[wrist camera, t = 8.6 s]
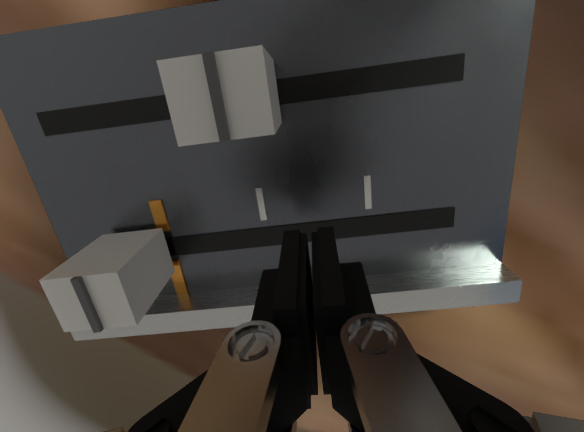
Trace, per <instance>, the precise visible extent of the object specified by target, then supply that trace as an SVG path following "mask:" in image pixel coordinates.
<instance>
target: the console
mask: <svg viewBox="0 0 584 432" xmlns="http://www.w3.org/2000/svg"><path fill="white" fill-rule="evenodd" d="M535 1H536V0H219V1H213V2H207V3H200V4H194V5H188V6H181V7H175V8H169V9H162V10H156V11H150V12H143V13H137V14H131V15H124V16H118V17H112V18H106V19H99V20H93V21H87V22H80V23H74V24H68V25H61V26H55V27H49V28H42V29H36V30H30V31H23V32H17V33H11V34H4V35H0V107H1V109H2V111H3V114H4V116H5V118H6V121H7V123H8V125H9V127H10V130H11V132H12V134H13V137H14V139H15V141H16V144H17V146H18V148H19V150H20V153H21V155H22V157H23V160H24V162H25V164H26V166H27V169H28V171H29V173H30V176H31V178H32V180H33V182H34V185H35V187H36V189H37V192H38V194H39V196H40V198H41V201H42V203H43V205H44V208H45V210H46V212H47V214H48V217H49V219H50V221H51V224H52V226H53V228H54V230H55V233H56V235H57V237H58V240H59V242H60V244H61V246H62V249H63V251H64V253H65V256H66V258H67V260H68V259H69V258H71V257H72V256H73V255H75V254H76V253H78V252H79V251H80V250H82V249H83V248H85V247H86V246H87V245H89V244H90V243H92V242H93V241H94V240H96V239H97V238H99V237H100V236H101V235H104V234H113V233H122V232H131V231H140V230H149V229H158V228H162V230H163V233H164V236H165V240H166V243H167V246H168V250H169V253H170V256H171V259H172V263H173V266H174V269H175V272H174V273H173V275H172V276H171V278H170V279H169V281H168V282H167V283H166V285H165V286H164V288H163V289H162V291H161V292H160V293H159V295H158V296H157V298H156V299H155V301H154V302H153V304H152V305H151V306H150V308H149V309H148V311H147V312H146V314H145V315H144V316H143V318H142V319H141V321H140V322H139V324H138V325H137V326H128V327H117V328H106V329H103V330H102V332H98V333H93V331H92V330H83V331H72V332H71V334H72V336H73V338H74V340H75V341H81V340H93V339H104V338H116V337H127V336H138V335H150V334H161V333H173V332H184V331H195V330H207V329H218V328H230V327H237V326H239V325H241V324H242V323H246V322H249V321H251V319H252V315H253V310H254V306H255V301H256V297H257V292H258V288H259V284H260V279H261V275H262V271H263V270H265V269H277V268H278V267H279V260H280V254H281V247H282V240H283V233H284V231H287V230H297V229H300V232H301V233H307V240H308V249H309V257H310V266H311V274H312V238H311V232H318V231H317V228H319V227H330V226H333V228H334V234H335V240H336V246H337V252H338V258H339V263H351V262H361V263H362V266H363V270H364V273H365V277H366V280H367V284H368V287H369V291H370V294H371V298H372V301H373V305H374V308H375V312H376V314H390V313H401V312H412V311H424V310H435V309H447V308H458V307H470V306H481V305H492V304H504V303H515V302H519V299H520V292H521V286H522V280H521V279H520V278H519V277H518V276H517V275H515V274H514V273H513V272H512V271H511V270H509V269H508V268H507V267H506V266H505V265H504V264H502V263H501V262H502V254H503V247H504V239H505V231H506V224H507V216H508V208H509V201H510V193H511V185H512V178H513V170H514V162H515V155H516V147H517V139H518V132H519V124H520V116H521V109H522V101H523V93H524V86H525V78H526V70H527V63H528V55H529V47H530V40H531V32H532V24H533V17H534V9H535ZM258 45H263V47H264V48H265V49H266V51H267V52H268V53H269V54H270V56H271V57H272V58H273V60H274V67H275V75H276V82H277V90H278V97H279V105H280V113H281V120H282V123H281V125H280V127H279V128H278V130H277V132H276V133H275V134H274V135H267V136H259V137H251V138H243V139H235V140H230V141H226V142H212V143H204V144H196V145H188V146H180V147H178V144H177V140H176V136H175V132H174V128H173V124H172V120H171V116H170V112H169V108H168V104H167V101H166V97H165V93H164V89H163V85H162V81H161V77H160V73H159V69H158V65H157V61H156V60H163V59H170V58H177V57H183V56H190V55H197V54H201V53H203V52H209V51H213V52H217V51H224V50H231V49H238V48H245V47H251V46H258ZM312 282H313V276H312Z"/></svg>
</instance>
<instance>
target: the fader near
mask: <svg viewBox="0 0 584 432" xmlns="http://www.w3.org/2000/svg"><path fill="white" fill-rule="evenodd" d="M156 61H157V65H158V69H159V73H160V77H161V81H162V85H163V89H164V93H165V97H166V101H167V104H168V108H169V112H170V116H171V120H172V124H173V128H174V132H175V136H176V140H177V144H178V147H180V146H188V145H196V144H204V143H212V142H226V141H230V140H235V139H243V138H251V137H259V136H267V135H274V134H275V133H276V132H277V130H278V128H279V127H280V125H281V123H282V120H281V113H280V105H279V97H278V90H277V82H276V75H275V67H274V60H273V58H272V57H271V56H270V54H269V53H268V52H267V51H266V49H265V48H264V47H263V45H258V46H251V47H245V48H238V49H231V50H224V51H217V52H213V51H209V52H203V53H201V54H197V55H190V56H183V57H177V58H170V59H163V60H156Z"/></svg>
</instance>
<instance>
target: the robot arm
mask: <svg viewBox="0 0 584 432" xmlns="http://www.w3.org/2000/svg"><path fill="white" fill-rule="evenodd" d="M317 231H318V232H311V238H312V274H311V266H310V257H309V249H308V240H307V233H301V232H300V229H297V230H287V231H284V233H283V240H282V247H281V254H280V260H279V267H278V268H277V269H265V270H263V271H262V275H261V279H260V284H259V288H258V292H257V297H256V301H255V306H254V310H253V315H252V319H251V321H249V322H246V323H242V324H241V325H239V326H237V327H235V328H234V329H232V330H231V331H230V332H229V333H228V334H227V335H226V337H225V338H224V340H223V342H222V344H221V346H220V348H219V350H218V352H217V354H216V356H215V358H214V360H213V362H212V364H211V366H210V368H209V369H208V370H207V371H205V372H204V373H203V374H201V375H200V376H199V377H197V378H196V379H194V380H193V381H192V382H190V383H189V384H188V385H186V386H185V387H184V388H182V389H181V390H179V391H178V392H177V393H175V394H174V395H172V396H171V397H170V398H168V399H167V400H165V401H164V402H163V403H161V404H160V405H159V406H157V407H156V408H154V409H153V410H152V411H150V412H149V413H147V414H146V415H145V416H143V417H142V418H141V419H140V420H139V421H137V422H136V423H135V424H134V425H133V426H132V427H131V428H130V429H129V431H124V430H123V428H122V427H120V428H116V429H112V430H109V431H105V432H297V421H296V420H297V419H298V418H299V417H300V416H301V415H302V414H303V413H304V412H305V411H306V410H307V409H311V395H318V381H317V351H316V334H317V342H318V350H319V358H320V366H321V374H322V383H323V391H324V394H331V397H332V407H333V409H335V410H336V411H337V412H338V413H339V414H340V415H342V416H343V417H344V418H345V419H346V420H347V421H348V429H349V432H584V420H578V419H572V418H566V417H560V416H554V415H548V414H542V413H536V412H533V415H532V418H531V417H526V416H522V415H521V414H520V413H519V412H517V411H516V410H515V409H513V408H512V407H510V406H509V405H507V404H506V403H504V402H502V401H501V400H499V399H497V398H495V397H493V396H492V395H490V394H488V393H486V392H485V391H483V390H481V389H479V388H477V387H476V386H474V385H472V384H470V383H469V382H467V381H465V380H463V379H461V378H460V377H458V376H456V375H454V374H453V373H451V372H449V371H447V370H445V369H444V368H442V367H440V366H438V365H436V364H435V363H433V362H431V361H429V360H428V359H426V358H424V357H422V356H420V355H419V354H417V353H416V352H415V350H414V349H413V347H412V345H411V343H410V342H409V340H408V338H407V337H406V335H405V333H404V331H403V330H402V328H401V327H400V326H399V325H398V324H397V323H396V322H395V321H393V320H392V319H391V318H389V317H386V316H384V315H381V314H376V312H375V308H374V305H373V301H372V298H371V294H370V291H369V287H368V284H367V280H366V277H365V273H364V270H363V266H362V263H361V262H351V263H339V258H338V252H337V246H336V240H335V234H334V228H333V226H330V227H319V228H317ZM312 276H313V282H312Z"/></svg>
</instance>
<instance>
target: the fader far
mask: <svg viewBox="0 0 584 432" xmlns="http://www.w3.org/2000/svg"><path fill="white" fill-rule="evenodd" d="M174 272H175V269H174V266H173V263H172V259H171V256H170V253H169V250H168V246H167V243H166V240H165V236H164V233H163V230H162V228H158V229H149V230H140V231H131V232H122V233H113V234H104V235H101V236H100V237H99V238H97V239H96V240H94V241H93V242H92V243H90V244H89V245H87V246H86V247H85V248H83V249H82V250H80V251H79V252H78V253H76V254H75V255H73V256H72V257H71V258H69V259H68V260H67V261H65V262H64V263H62V264H61V265H60V266H58V267H57V268H55V269H54V270H53V271H51V272H50V273H48V274H47V275H46V276H44V277H43V278H41V279H40V280H39V282H40V284H41V286H42V288H43V290H44V292H45V294H46V296H47V298H48V300H49V302H50V304H51V306H52V308H53V311H54V313H55V314H56V317H57V319H58V321H59V323H60V325H61V327H62V329H63V331H64V332H72V331H83V330H92V331H93V333H98V332H102V330H103V329H106V328H117V327H128V326H137V325H138V324H139V322H140V321H141V319H142V318H143V316H144V315H145V314H146V312H147V311H148V309H149V308H150V306H151V305H152V304H153V302H154V301H155V299H156V298H157V296H158V295H159V293H160V292H161V291H162V289H163V288H164V286H165V285H166V283H167V282H168V281H169V279H170V278H171V276H172V275H173V273H174Z"/></svg>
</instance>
